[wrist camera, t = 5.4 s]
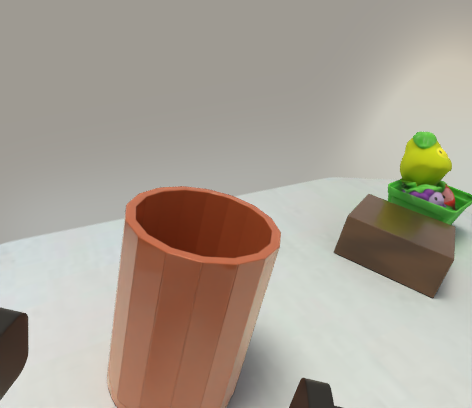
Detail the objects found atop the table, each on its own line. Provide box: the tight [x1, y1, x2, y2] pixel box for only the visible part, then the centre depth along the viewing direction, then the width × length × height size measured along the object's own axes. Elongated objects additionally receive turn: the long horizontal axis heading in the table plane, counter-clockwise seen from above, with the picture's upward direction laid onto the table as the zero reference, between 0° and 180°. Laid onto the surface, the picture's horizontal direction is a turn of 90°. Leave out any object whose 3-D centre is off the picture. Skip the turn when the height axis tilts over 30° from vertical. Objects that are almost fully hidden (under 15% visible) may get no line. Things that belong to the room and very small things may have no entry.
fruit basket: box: [388, 132, 472, 225], centre depth 44 cm, size 11×9×11 cm
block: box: [334, 194, 455, 298], centre depth 36 cm, size 9×9×4 cm
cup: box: [107, 186, 281, 408], centre depth 17 cm, size 6×6×9 cm
